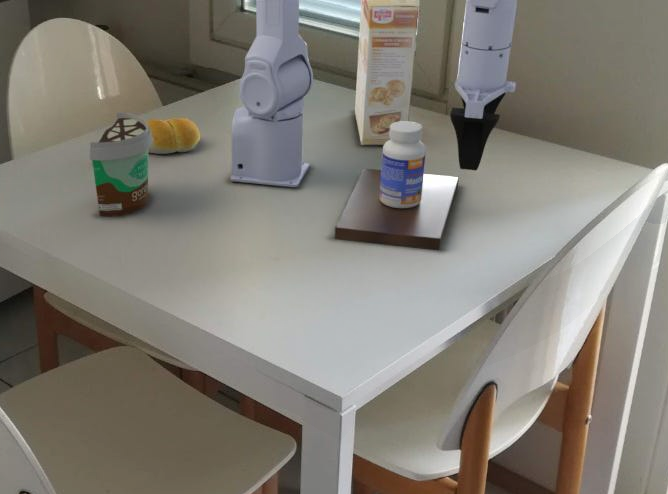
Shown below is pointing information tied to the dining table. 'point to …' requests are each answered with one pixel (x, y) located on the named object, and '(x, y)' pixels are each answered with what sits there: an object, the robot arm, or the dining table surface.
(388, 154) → the pill bottle
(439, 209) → the walnut board
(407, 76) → the coffeecake box
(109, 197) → the food container
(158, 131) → the bread roll
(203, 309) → the dining table surface
